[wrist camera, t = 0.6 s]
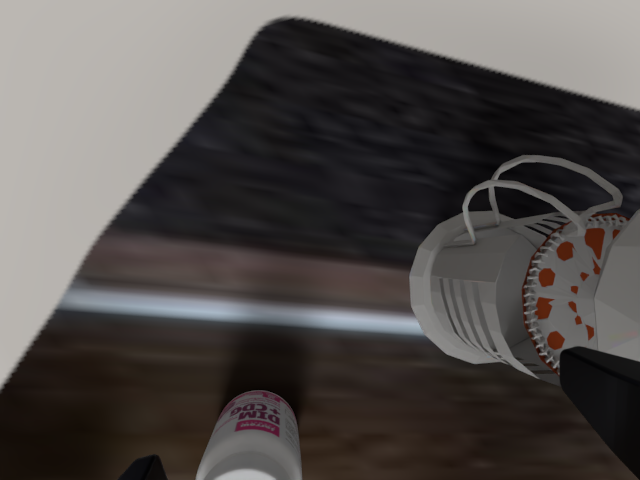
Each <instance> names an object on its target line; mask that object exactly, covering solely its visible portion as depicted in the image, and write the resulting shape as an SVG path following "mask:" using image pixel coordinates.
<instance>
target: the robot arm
mask: <svg viewBox="0 0 640 480" xmlns="http://www.w3.org/2000/svg"><path fill="white" fill-rule="evenodd" d="M559 380H560V385H561V387H562V389H563V391H564V392H565V394H566V395H567V396H568V397H569V399H570V400H571V401H572V402H573V404H574V405H575V406H576V407H577V408H578V410H579V411H580V412H581V413H582V415H583V416H584V417H585V418H586V420H587V421H588V422H589V423H590V425H591V426H592V427H593V428H594V429H595V431H596V432H597V433H598V434H599V436H600V437H601V438H602V439H603V441H604V442H605V443H606V444H607V445H608V447H609V448H610V449H611V450H612V451H613V452H614V453H615V455H616V456H617V457H618V458H619V459H620V460H621V461H622V462H623V463H624V464H625V465H626V466H627V467H628V468H629V470H630V471H631V472H632V473H633V474H634V475H635V476H636V477H637V478H638V479H639V480H640V361H636V360H632V359H628V358H624V357H620V356H617V355H613V354H609V353H605V352H601V351H597V350H594V349H590V348H586V347H582V346H575V347H571V348H567V349H564V350H562V351H561V353H560V365H559ZM118 480H168V479H167V476H166V473H165V470H164V468H163V465H162V462H161V459H160V457H159V456H158V455H155V454H153V455H149V456H146V457H142V458H138V459H136V460H135V461H134V462H133V463H132V464H131V465H130V466H129V467H128V468H127V470H126V471H125V472H124V473H123V474H122V475H121V476H120V477H119V478H118Z"/></svg>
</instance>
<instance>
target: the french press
mask: <svg viewBox="0 0 640 480" xmlns="http://www.w3.org/2000/svg"><path fill="white" fill-rule="evenodd" d="M522 162H542V163H548V164H554V165H560V166H563V167H566V168H569V169H571V170H574V171H576V172H579V173H581V174H584V175H587V176H588V177H589V178H591V179H592V180H593V181H595V182H596V183H597V184H598V185H600V186H601V187H602V188H604V189H605V190H606V191H608V192H609V193H610V194H612V195H613V199H614V201H611V202H608V203H605V204H602V205H598V206H594V207H590V208H589V209H588V210H586V211H572V210H570V209H569V208H568V207H566V206H565V205H564V204H563V203H561V202H560V201H559V200H557V199H556V198H555V197H553V196H552V195H549V194H547V193H544V192H542V191H539V190H537V189H534V188H532V187H530V186H527V185H525V184H522V183H520V182H517V181H505V180H497V179H498V177H499V175H500V174H501V173H502V172H504V171H506V170H508V169H510V168H512V167H514V166H516V165H518V164H520V163H522ZM494 186H499V187H506V188H514V189H519V190H521V191H523V192H526V193H528V194H530V195H533V196H535V197H537V198H540V199H542V200H544V201H546V202H549V203H551V204H552V205H553V206H554V207H555V208H557V209H558V210H559V211H560V212H556V213H550V214H544V215H538V216H532V217H526V218H521V219H512V218H510V217H507V216H504V215H502V214H499V211H498V207H497V204H496V200H495V192H494ZM488 187H489V201H490V204H491V207H492V210H493V211H476V212H469V211H468V204H469V201H470V199H471V198H472V196H473V195H474V194H475V193H476V192H477V191H478V190H481V189H485V188H488ZM622 198H623V196H622V194H621V193H620V191H619V189H617V188H616V187H615V186H613V185H612V184H610V183H609V182H608V181H606V180H605V179H603V178H602V177H600V176H599V175H598V174H596V173H595V172H593V171H592V170H591V169H589V168H586V167H583V166H581V165H578V164H575V163H573V162H570V161H567V160H565V159H562V158H554V157H547V156H539V155H522V156H520V157H517V158H515V159H513V160H510V161H508V162H506V163H503V164H502V165H501V166H500V167H499V168H498V169H497V170H496V172H495V173H494V175H493V177H492V179H491V180H488V181H485V182H483V183H481V184H479V185H476V186H475V187H473V188H472V189H471V190H470V191H469V192H468V193H467V194H466V197H465V200H464V203H463V206H462V207H463V213H461V214H459V215H457V216H455V217H453V218H451V219H448V220H446V221H444V222H442V223H440V224H438V225H437V226H436V228H435V229H434V230H433V231H432V232H431V233H430V234H429V236H428V237H427V238H426V239H425V240H424V241H423V243H422V244H421V245H420V246H419V248H418V251H417V254H416V257H415V260H414V263H413V266H412V269H411V272H410V275H409V280H410V296H411V307H412V309H413V311H414V313H415V316H416V318H417V320H418V322H419V324H420V326H421V328H422V330H423V332H424V334H425V335H426V336H427V337H428V338H429V339H430V340H431V341H432V342H434V343H435V344H436V345H437V346H438V347H439V348H440V349H441V350H442V351H443V352H445V353H446V354H447V355H450V356H453V357H456V358H459V359H461V360H464V361H467V362H470V363H473V364H479V363H492V362H503V363H505V364H508V365H511V366H514V367H515V368H516V369H518V370H520V371H522V372H525V373H527V374H529V375H531V376H534V377H536V378H538V379H540V380H543V381H546V382H549V383H552V384H555V385H558V386H560V387H561V385H560V380H559V365H560V353H561V351H562V350H564V349H567V348H571V347H575V346H582V347H586V348H590V349H594V350H597V351H601V352H605V353H609V354H613V355H617V356H620V357H624V358H628V359H632V360H636V361H640V209H639V210H638V211H637V212H636V213H635V214H634V215H633V216H632V218H631V219H629V218H627V217H624V216H622V215H619V214H617V213H609V214H595V213H596V212H598V211H603V210H608V209H612V208H617V207H620V206H621V203H622ZM554 216H565V217H568V218H569V219H564V218H558V217H554ZM542 219H548V220H555V221H561V222H565V223H566V224H564V225H562V226H561V225H558V224H556V223H553V222H548V221H542ZM535 223H541V224H546V225H548V226H551V227H553V228H555V229H554V230H553V231H551V230H549V229H547V228H544V227H542V226H540V225H536V224H535ZM524 225H526V226H531V227H533V228H536V229H538V230H540V231H542V232H544V233H546V234H549V236H548V237H547V238H546V236H544V235H542V234H540V233H538V232H535V231H533V230H531V229H529V228H527V227H525V226H524ZM515 357H519V358H522V359H524V360H516V359H515ZM506 362H507V363H506ZM509 363H510V364H509ZM525 363H534V364H536V365H539V366H523V365H522V364H525ZM531 370H551V371H553V372H555V373H556V374H534V373H532V372H531Z"/></svg>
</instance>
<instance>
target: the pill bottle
mask: <svg viewBox="0 0 640 480" xmlns="http://www.w3.org/2000/svg"><path fill="white" fill-rule="evenodd" d="M196 480H302V469H301V456H300V445H299V435H298V426H297V421H296V417H295V415H294V412H293V410H292V409H291V407H290V406H289V404H288V403H287V402H286V401H285V400H284V399H283V398H281V397H280V396H278V395H277V394H275V393H272V392H269V391H264V390H254V391H249V392H245V393H243V394H240V395H239V396H237V397H235V398H234V399H233V400H231V401H230V402H229V403H228V404H227V406H226V407H225V408H224V409H223V411H222V413H221V414H220V416H219V419H218V421H217V424H216V426H215V429H214V431H213V433H212V436H211V438H210V441H209V443H208V445H207V448H206V451H205V453H204V455H203V458H202V460H201V463H200V466H199V468H198V471H197V475H196Z"/></svg>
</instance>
